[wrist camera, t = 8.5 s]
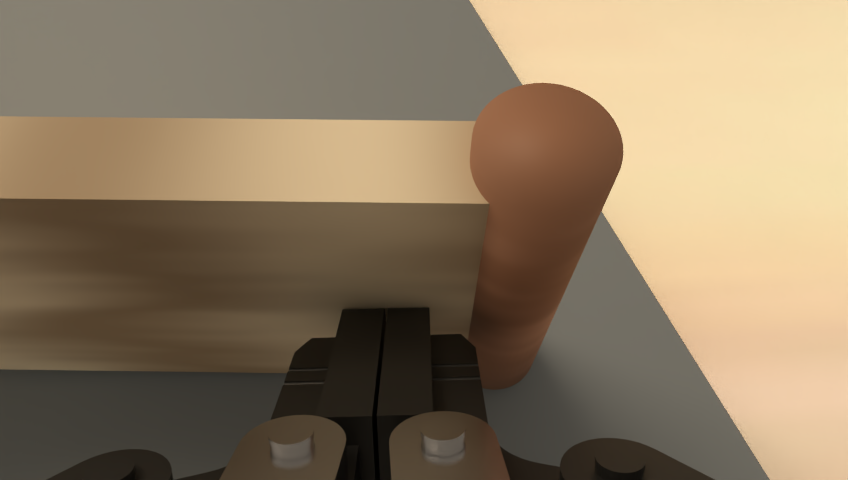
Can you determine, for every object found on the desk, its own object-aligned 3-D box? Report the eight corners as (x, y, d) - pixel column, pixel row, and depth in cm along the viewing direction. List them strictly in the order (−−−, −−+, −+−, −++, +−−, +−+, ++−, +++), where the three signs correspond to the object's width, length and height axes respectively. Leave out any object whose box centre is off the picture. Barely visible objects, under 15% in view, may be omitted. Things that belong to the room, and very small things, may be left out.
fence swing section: (-66, 382, 16) (-484, 199, 8) (-42, 303, 16) (-405, 73, 9) (536, 390, 16) (630, 211, 8) (532, 309, 16) (615, 83, 9)
